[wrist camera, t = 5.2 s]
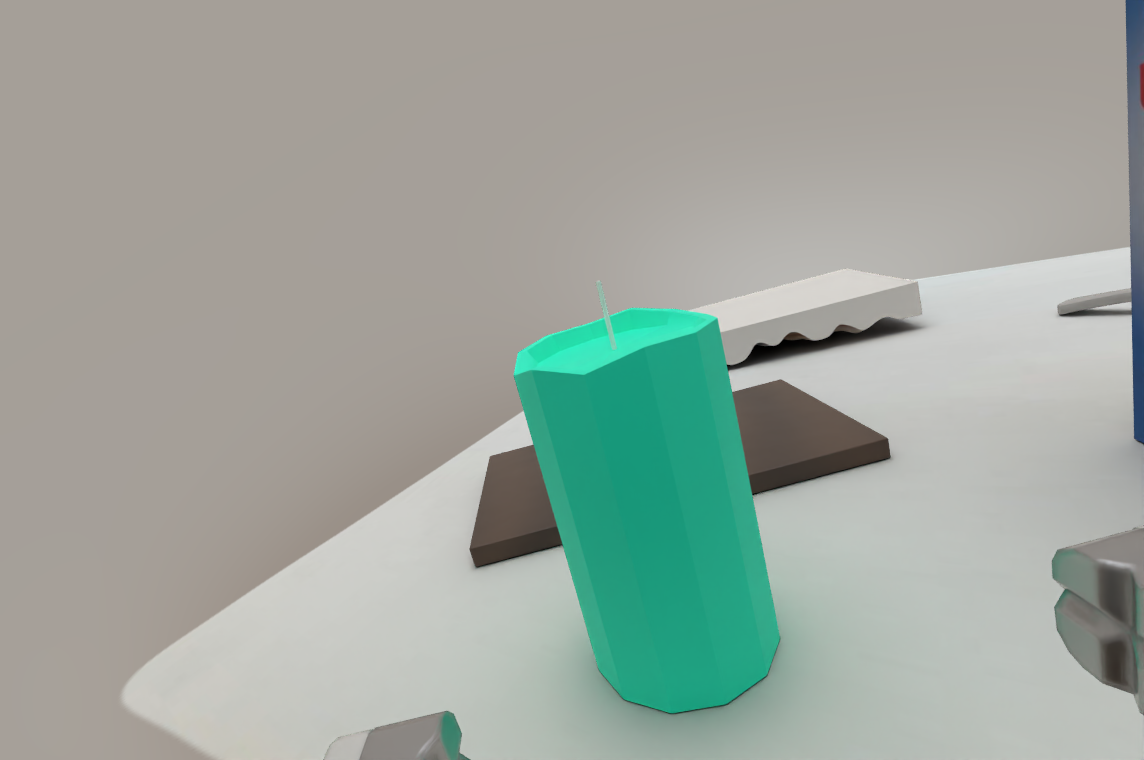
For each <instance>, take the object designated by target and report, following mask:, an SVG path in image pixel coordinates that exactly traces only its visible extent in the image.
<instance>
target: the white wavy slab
mask: <svg viewBox="0 0 1144 760" xmlns="http://www.w3.org/2000/svg"><path fill="white" fill-rule="evenodd" d="M688 311H692V312H698V313H704V314H709V315H712V316H714V317H717V318H718V323H719V328H720V333H721V338H722V343H723V348H724V353H725V358H726V364H727V365H734V364H737V363H740V362H742V361H744V360H745V359H746V358H747V357H748V356H749V354H750V352H751V350H752V349H753V347H754V346H755V345H761V346H770V345H771V346H775V345H778V344H779V343H780V342H781V341H782V340H783V339H786V340H798V339H806V340H821V339H824V338H827V337H829V336H830V335H831V334H832V333H833V332H835V331H847V332H851V333H859V332H861V331H863V330H865V329H867V328H869V327H870V326H871V325H873V324H874V323H875V322H877V321H878V320H880V319H881V318H884V317H892V318H896V319H900V320H902V319H905V318H908V317H913V316H918V315H921V314H922V308H921V301H920V295H919V288H918V282H917V281H911V280H906V279H900V278H895V277H889V276H883V275H878V274H873V273H867V272H862V271H856V270H850V269H842V270H838V271H834V272H830V273H827V274H823V275H819V276H815V277H812V278H808V279H804V280H801V281H797V282H793V283H789V284H785V285H782V286H778V287H774V288H770V289H767V290H763V291H759V292H756V293H752V294H748V295H744V296H740V297H736V298H733V299H729V300H725V301H721V302H718V303H714V304H710V305H707V306H703V307H699V308H695V309H692V310H688Z"/></svg>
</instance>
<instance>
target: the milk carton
mask: <svg viewBox="0 0 1144 760" xmlns="http://www.w3.org/2000/svg"><path fill="white" fill-rule="evenodd" d="M1126 41H1127V89H1128V141H1129V142H1128V144H1129V189H1130V190H1129V193H1130V194H1129V195H1130V243H1131V244H1130V246H1131V298H1132V349H1133V400H1134V439H1136V440H1138V441H1140V442H1142V443H1144V0H1126Z"/></svg>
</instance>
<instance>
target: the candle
mask: <svg viewBox="0 0 1144 760" xmlns="http://www.w3.org/2000/svg"><path fill="white" fill-rule="evenodd" d="M596 285H597V289H598V293H599V297H600V302H601V306H602V310H603V314H604V318H602V319H599V320H596V321H594V322H591V323H588V324H585V325H581V326H578V327H574V328H571V329H568V330H564V331H561V332H557V333H554V334H550V335H547V336H545V337H543V338H542V339H540V340H538V341H536V342H535V343H533V344H531V345H530V346H528V347H527V348H525V349H523V350H521V351H520V352H518V356H517V361H516V366H515V371H514V378H515V382H516V385H517V389H518V392H519V396H520V399H521V402H522V406H523V410H524V413H525V416H526V420H527V423H528V427H529V430H530V434H531V437H532V441H533V444H534V448H535V451H536V454H537V458H538V461H539V465H540V468H541V472H542V475H543V479H544V482H545V486H546V489H547V492H548V496H549V499H550V503H551V506H552V510H553V513H554V517H555V520H556V524H557V527H558V531H559V534H560V537H561V541H562V544H563V548H564V551H565V555H566V558H567V562H568V565H569V569H570V572H571V575H572V579H573V582H574V586H575V589H576V593H577V596H578V600H579V603H580V607H581V610H582V613H583V617H584V620H585V624H586V627H587V631H588V634H589V638H590V641H591V645H592V648H593V651H594V655H595V658H596V662H597V665H598V669H599V671H600V672H601V673H602V674H603V676H604V677H605V678H606V679H607V680H608V681H609V683H610V684H611V685H612V686H613V687H614V688H615V690H616V691H617V692H618V693H619V694H620V695H621V697H622V698H623V699H624V700H628V701H631V702H634V703H638V704H641V705H645V706H648V707H651V708H655V709H658V710H662V711H665V712H669V713H677V712H683V711H689V710H695V709H701V708H707V707H713V706H719V705H725V704H728V703H729V702H730V701H732V700H733V699H734V698H736V697H737V696H739V695H740V694H741V693H743V692H744V691H746V690H747V689H748V688H750V687H751V686H753V685H754V684H755V683H757V682H758V681H760V680H761V679H762V678H764V677H765V676H767V674H768V671H769V668H770V665H771V663H772V660H773V657H774V654H775V651H776V649H777V646H778V643H779V640H780V635H779V630H778V625H777V620H776V615H775V610H774V604H773V599H772V594H771V589H770V584H769V579H768V574H767V569H766V563H765V558H764V553H763V548H762V543H761V538H760V533H759V528H758V522H757V517H756V512H755V507H754V502H753V497H752V492H751V487H750V481H749V476H748V471H747V466H746V461H745V456H744V451H743V446H742V440H741V435H740V430H739V425H738V420H737V415H736V410H735V405H734V399H733V394H732V389H731V384H730V379H729V374H728V369H727V364H726V358H725V353H724V348H723V343H722V338H721V333H720V328H719V323H718V318H717V317H714V316H712V315H709V314H704V313H698V312H692V311H684V310H678V309H655V308H630V309H627V310H624V311H621V312H619V313H616V314H613V315H610V316H609V313H608V309H607V305H606V301H605V297H604V293H603V289H602V284H601V281H597V282H596Z"/></svg>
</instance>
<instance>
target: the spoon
mask: <svg viewBox="0 0 1144 760" xmlns="http://www.w3.org/2000/svg"><path fill="white" fill-rule="evenodd" d="M1125 302H1132V298H1131V288H1130V289H1123V290H1117V291H1112V292H1106V293H1100V294H1094V295H1088V296H1083V297H1078V298H1073V299H1070V300H1067V301H1064V302H1062V303H1060V304H1059V305H1057V308H1058V313H1059V315H1061V314H1066V313H1071V312H1075V311H1080V310H1085V309H1090V308H1096V307H1101V306H1107V305H1113V304H1119V303H1125Z"/></svg>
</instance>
